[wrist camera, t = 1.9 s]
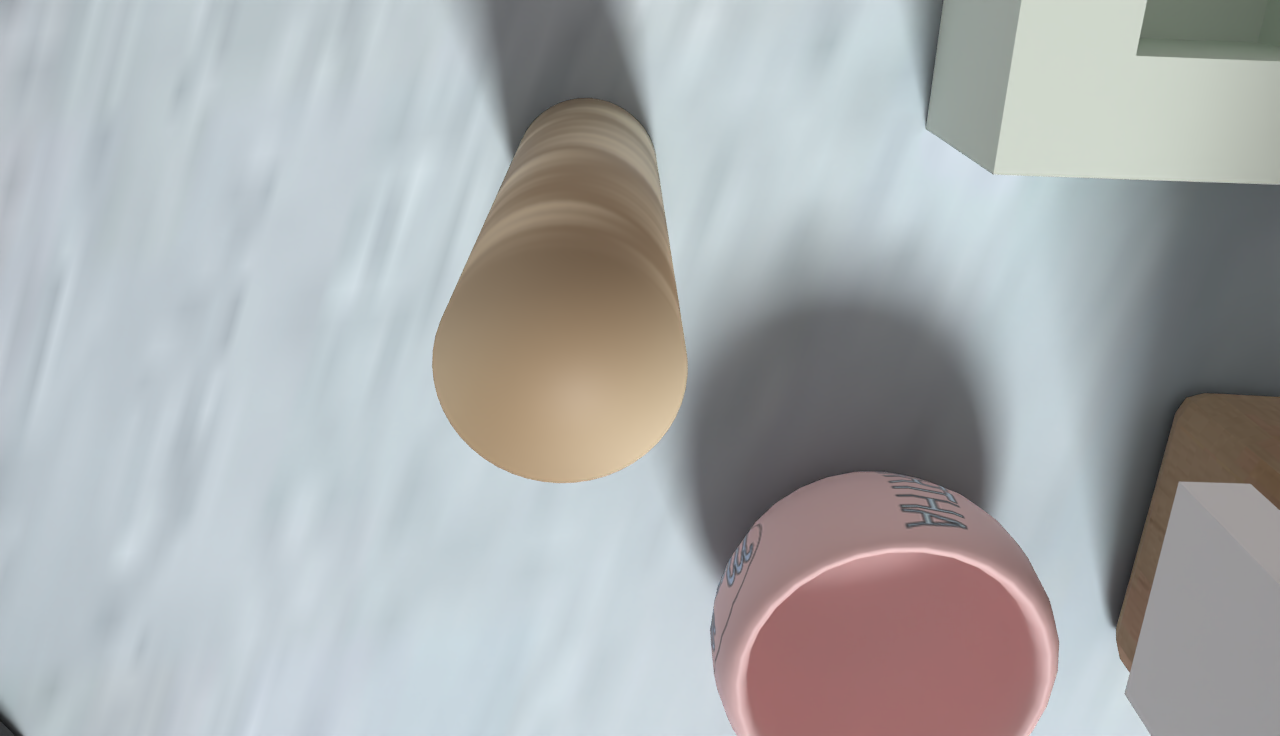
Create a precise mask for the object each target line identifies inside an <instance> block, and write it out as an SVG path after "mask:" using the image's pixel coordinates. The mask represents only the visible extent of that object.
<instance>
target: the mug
mask: <svg viewBox="0 0 1280 736" xmlns="http://www.w3.org/2000/svg"><path fill="white" fill-rule="evenodd" d="M710 634H711V647H712V658H713V668H714V676H715V681H716V685H717V690H718V692H719V695H720V698H721V701H722V703H723V706H724V709H725V712H726V714H727V717H728V719H729V721H730V724H731V726H732V728H733V730H734V732H735V733H736V734H737V736H1029V735H1030V734H1031V732H1032V731H1033V729H1034V728H1035V726H1036V724H1037V722H1038V721H1039V719H1040V717H1041V715H1042V714H1043V712H1044V710H1045V708H1046V707H1047V704H1048V701H1049V698H1050V695H1051V691H1052V688H1053V685H1054V681H1055V678H1056V675H1057V671H1058V653H1059V639H1058V635H1057V630H1056V625H1055V621H1054V616H1053V612H1052V608H1051V604H1050V601H1049V598H1048V596H1047V594H1046V592H1045V590H1044V588H1043V586H1042V584H1041V582H1040V580H1039V579H1038V577H1037V575H1036V573H1035V571H1034V569H1033V567H1032V565H1031V563H1030V561H1029V559H1028V557H1027V556H1026V554H1025V553H1024V552H1023V550H1022V549H1021V548H1020V546H1019V545H1018V543H1017V542H1016V541H1015V540H1014V539H1013V538H1012V537H1011V536H1010V534H1009V533H1008V532H1007V531H1006V530H1005V529H1004V528H1003V527H1002V525H1001V524H1000V523H999V522H998V521H997V520H996V519H994V518H993V517H992V516H990V515H989V514H988V513H987V512H985V511H984V510H983V509H981V508H980V507H978V506H977V505H975V504H974V503H972V502H971V501H970V500H968V499H967V498H965V497H964V496H962V495H961V494H959V493H956V492H954V491H951V490H949V489H946V488H944V487H941V486H939V485H937V484H934V483H932V482H929V481H926V480H923V479H919V478H915V477H912V476H906V475H901V474H895V473H890V472H885V471H880V472H851V473H846V474H841V475H836V476H831V477H826V478H824V479H821V480H819V481H816V482H814V483H811V484H808V485H806V486H803V487H801V488H799V489H797V490H796V491H794V492H792V493H791V494H789V495H788V496H786V497H784V498H783V499H781V500H780V501H778V502H776V503H775V504H774V505H773V506H772V507H771V508H770V509H769V510H768V511H767V512H766V513H764V514H763V515H762V516H761V517H760V518H759V519H758V520H757V521H756V522H755V523H754V525H753V526H752V527H751V529H750V530H749V532H748V533H747V535H746V536H745V537H744V539H743V540H742V542H741V543H740V544H739V546H738V547H737V549H736V550H735V552H734V553H733V555H732V556H731V558H730V559H729V561H728V563H727V566H726V568H725V571H724V573H723V576H722V578H721V580H720V583H719V585H718V588H717V592H716V597H715V602H714V609H713V615H712V621H711V628H710Z"/></svg>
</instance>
